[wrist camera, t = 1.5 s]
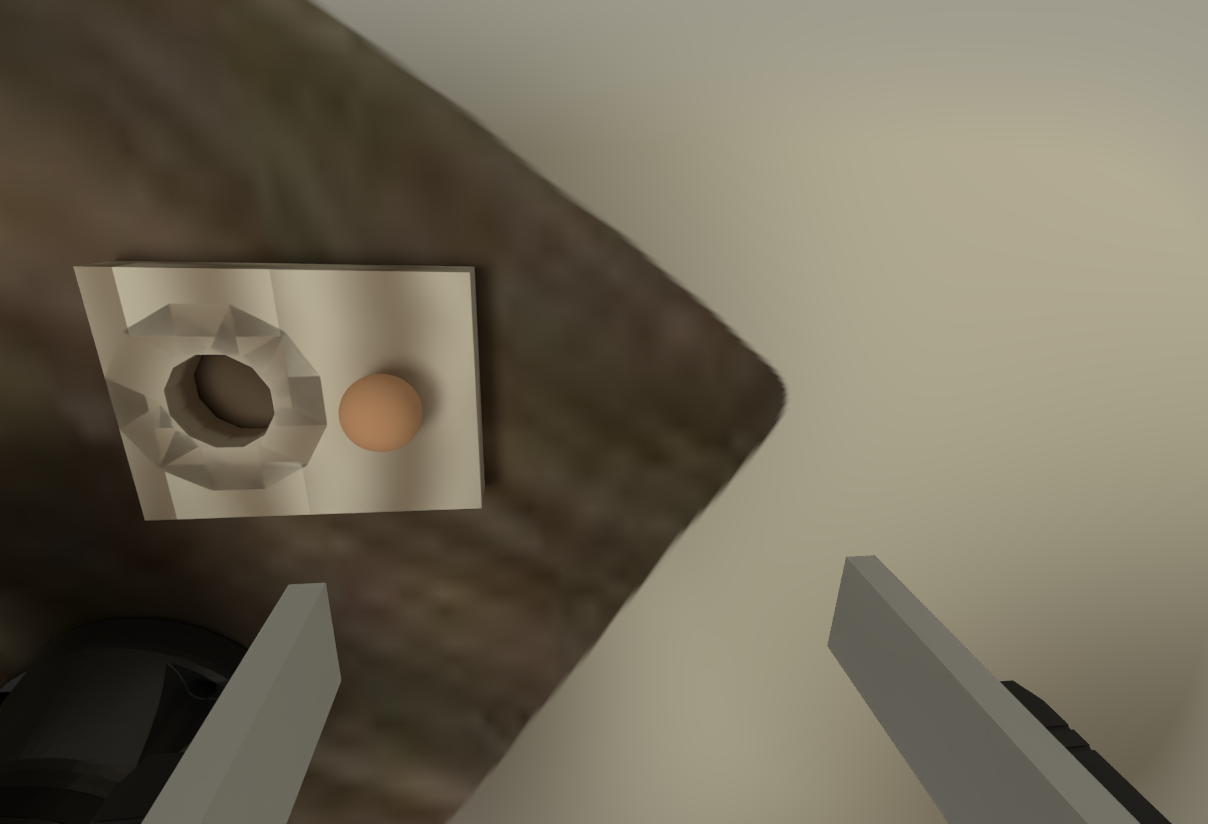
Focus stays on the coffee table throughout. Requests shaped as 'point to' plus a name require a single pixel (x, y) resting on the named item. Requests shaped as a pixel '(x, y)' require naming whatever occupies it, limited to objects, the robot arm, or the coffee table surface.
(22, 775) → the robot arm
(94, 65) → the coffee table surface
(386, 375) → the ball
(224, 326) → the block
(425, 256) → the coffee table surface
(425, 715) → the coffee table surface
